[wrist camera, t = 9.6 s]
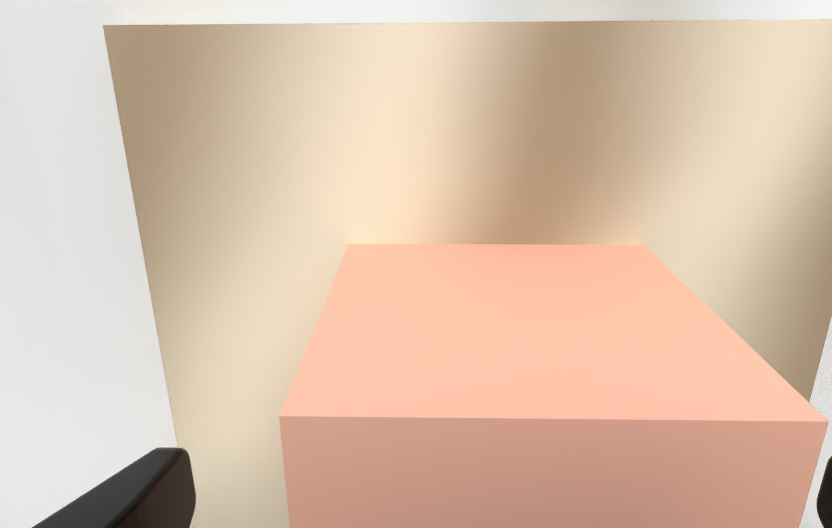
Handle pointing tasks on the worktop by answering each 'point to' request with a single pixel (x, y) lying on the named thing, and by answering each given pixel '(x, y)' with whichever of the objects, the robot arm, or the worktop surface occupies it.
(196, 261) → the birch board
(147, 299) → the worktop surface
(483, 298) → the coral cube
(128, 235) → the worktop surface
